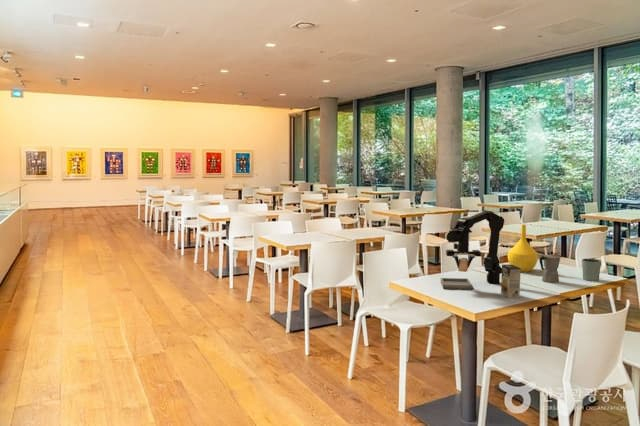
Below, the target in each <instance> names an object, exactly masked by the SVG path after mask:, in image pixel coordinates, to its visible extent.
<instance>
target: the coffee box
mask: <svg viewBox="0 0 640 426" xmlns="http://www.w3.org/2000/svg"><path fill="white" fill-rule="evenodd" d="M501 268H502V273H501V280H500V284H501V285H500V288H501V290H500V293H501V294H502V295H503V296H504V297H506V298H507V299H520V291H521V290H520V289H521V288H520V287H521V273H522V272H521V268H519V267H517V266H515V265H510V264H508V263H507V264H501Z"/></svg>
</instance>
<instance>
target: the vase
mask: <svg viewBox="0 0 640 426" xmlns="http://www.w3.org/2000/svg"><path fill="white" fill-rule="evenodd" d="M538 256H539V255H538V252H537V251H536V250H535V248H534V247H532V246H531V244H530V243H529V242H528V241H527V225H526V224H521V229H520V239H519V241H518V242H517V243H516V244H515V245H514V246H513V247H512V248H511V249H509V250H508V253H507V260H508V263H509V264H508V265H515V266H517V267H519V268H521V272H520V273H522V272H523V273H528V272H531V271H533V270H534V268H535V267H536V265H537V263H538V261H539V260H538V259H539V257H538Z"/></svg>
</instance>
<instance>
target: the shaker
mask: <svg viewBox="0 0 640 426" xmlns="http://www.w3.org/2000/svg"><path fill="white" fill-rule="evenodd" d="M458 260H459V268H458V267H457V269H458V270H457V271H458V272H460V273H461V272H462V273H463V272H465V273H467V272H468V269H469V268H468V257H458Z"/></svg>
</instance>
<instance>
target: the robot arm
mask: <svg viewBox="0 0 640 426" xmlns="http://www.w3.org/2000/svg"><path fill="white" fill-rule="evenodd" d="M485 220H486V221H487V222H488V227H489V230H490V236H489V245H488V255H486V257H483V268H484V270H485V272H487V274H486V282H487V283H488V284H492V285H493V284H495V285H496V284H497V285H498V284H501V280H500V278H501V277H500V276H501V275H502V266H501V265H500V259H499V256H498V251H499V241H500V232H501V231H502V230H503V228H504V224H505V219H504V217H503V216H501V215H498V214H497V213H494V212H493V211H492V210H488V209H487V210H483V211H481V212H479V213H476V214H473V215H471V216H469V217H460V218H457V221H456V223H455V225H454V226H453V229H449V230H448V232H447V234H446V237H445V238H446V241H447V242H449V243H453V249H446V250H445V256H447V257H451V258H453V259H454V261H455V264H456V266H457V269H458V268H459V255H460V256H462V255H463V256H464V255H467V260H468V269H469V268H470V266H471V264H472V262H473V260H474V259H476V257H482V252H481V251H480V250H479V249H472V251H470V250H469V249H470V248H469V247H470V246H469V245H470V234H471V233H473V231H472V230H471V229H472V227H474V225H475V224H478V223H480V222H482V221H485ZM457 242H458V243H457Z"/></svg>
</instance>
